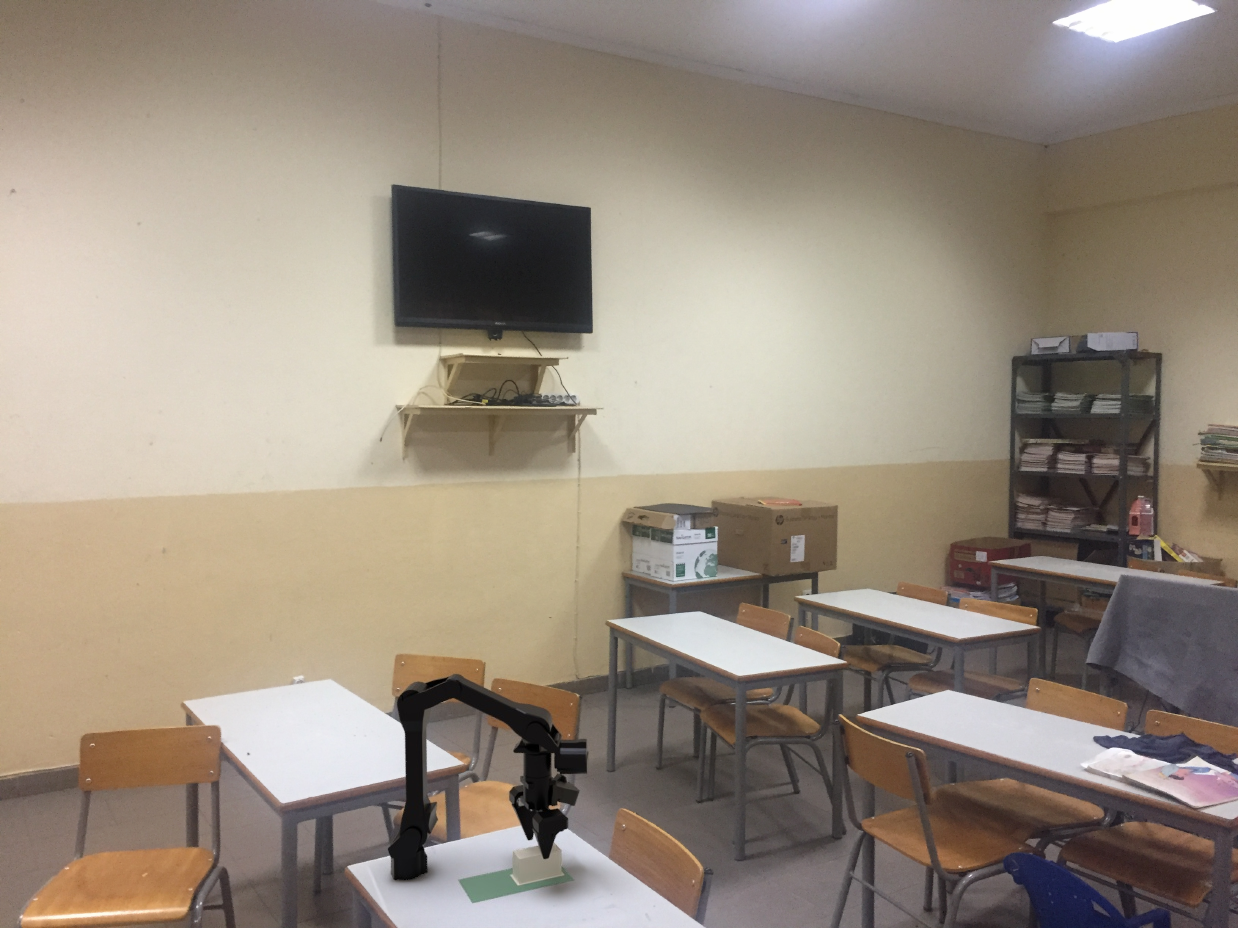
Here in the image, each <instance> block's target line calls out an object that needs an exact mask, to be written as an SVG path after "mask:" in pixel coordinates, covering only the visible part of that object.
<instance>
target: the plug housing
mask: <svg viewBox="0 0 1238 928" xmlns="http://www.w3.org/2000/svg"><path fill="white" fill-rule="evenodd" d="M561 865H562V849H561V848H560V847H559V845H557V843H555V842H554V843H553V846H552V850H551V853H550V856H549V858H548V859H543V857H542V854H541V851H540V849H539V846H538V845H534V846H529V847H526V848H521V849H520V848H519V849H515V850H512V868H513V876H514V878H515V879H516V880H517V882H518V883H519V884H522V883H526V882H531V881H535V880H539V879H544V878H548V877H553V876H557V875H562V871H561Z"/></svg>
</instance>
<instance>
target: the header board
mask: <svg viewBox="0 0 1238 928" xmlns="http://www.w3.org/2000/svg"><path fill="white" fill-rule="evenodd" d="M561 871H562V875H557V876H553V877H548V878H544V879H539V880H535V881H531V882H526V883H522V884H519V883H518V882H517V880H516V879H515V878H514V876H513V867H512V868H511V867H510V868H507V869H502V870H497V871H493V872H489V873H488V872H487V873H484V874H480V875H475V876H470V877H465V878H461V879H457V880H458V882H459V884H460V885H461V887H462V888H463V891H464V892H465V893H466V896H467V897H468V898H469V900H470V902H471V904H475V903H480V902H484V901H490V900H492V899H497V898H502V897H506V896H507V897H508V896H511V895H515V894H520V893H524V892H527V891H532V890H536V889H541V888H545V887H550V886H551V887H552V886H554V885H559V884H563V883H568V882H572V881H574V880H575V879H574V878H573V877H572V876H571V874H570V873H569V872H568V871H567V870H566V869H565V868H564V867H563V865H562V864H561Z"/></svg>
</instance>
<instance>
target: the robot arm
mask: <svg viewBox="0 0 1238 928" xmlns="http://www.w3.org/2000/svg"><path fill="white" fill-rule="evenodd" d="M452 699H454V700H456V701H458V702H460V703H462V704H464V705H466V706H469V707H471V708H473V709H475V710H477V711H480V712H481V713H484V714H486V715H488V716H490V717H492V718H493V719H496V720H498V721H500V722H502V723H503V724H505V725H506V726H508V727H509V729H511V731H513V733H514V734H516V735H517V736H519V737H520V741H518V743H516V744H515V746H514V748H513V753H514V754H522V755H523V756H522V759H523V760H522V761H523V765H522V766H523V767H522V769H523V771H522V772H523V773H522V774H523V775H520V776H519V777H520V778H519V782H521V784H520V785H513V786H512V787H511V789H510V790H509V791H508V798H509V799H508V801H510V804H511V807H512V808H513V810H514V813H515V815H516V817H517V820H518V822H519V824H520V826H521V829H522V831H523V833H524V836H525V837H526V840H527V841H533V840H534V837H535V839H536V842H537V846H539V849H540V851H541V854H542V857H543V859H548V858H549V856H550V853H551V850H552V846H553V843H555V839H556V838H557V836H558V834H559V833H560V832H564V831H565V830H567V829H569V817H568V816H567V815H566V814H565V813H564V812H563V811H562V810H560V809H559V808H558V807H557V806H559V805H558V803H561V804H566V805H570V806H572V807H576V804H577V800H578V797H579V794H580V789H578V787H577V786H575V784H573V783H571V782H570V781H567V780H568V779H567V776H566V775H588V774H589V764H590V763H589V761H590V758H589V756H590V755H589V753H590V751H589V749H588V748H589V747H588V739H587V738H578V739H562V738H563V735H562V734H561V732H560V731H559V729H558V728H557V727H556V725H555V724H554V722H553V717H552V713H551V712H550V711H549V710H548V709H547V708H545V707H541V706H538V705H534V704H530V703H522V702H516V701H514V700H511V699H509V698H507V697H506V696H503V695H501V694H499V693H497V692H495V691H493V690H490V689H488V688H486V687H485V686H482V685H480V684H478V683H476V682H474V681H472V680H470V679H467V678H465V677H464V676H463V675H462V674H460V673H453V674H450V675H448V676H445V677H441V678H436V679H432V680H430V681H426V682H423V681H413V682H412V683H409V685H408V686H407V687H406V688H405V689H404V690H403V692H401V693H400V695H399V696H398V698H397V701H396V708H397V712H398V718H399V722H400V724H401V727H402V729H403V731H404V732H403V733H404V749H405V750H404V756H405V757H404V759H405V762H404V764H405V767H404V768H405V802H404V808H403V811H402V812H403V813H402V815H401V819H400V824H399V825H400V827H399V829H398V831H397V833H396V835H395V836H394V838H393V840H392V841H391V842H390V844H389V846H388V847H387V851H388V854H389V857H390V875H391V877H392V878H393V880H394V881H398V880H399V881H411V880H412V881H413V880H415V879H417V878H419V877H421V876H423V875H425V874H427V873H428V854H427V852H426V851H425V847H424V844H426V843H427V842H428V841H427V840H428V839H429V837H430V835H431V834H432V832H433V831H434V828H435V826H436V825H437V822H438V821H439V818H438V816H437V808H438V802H437V801H433V802H431V800H430V798H429V795H428V759H427V758H428V756H427V755H428V753H427V751H428V749H427V748H428V747H427V746H428V745H427V744H428V743H427V739H428V738H427V728H428V722H429V718H430V714H431V711H432V708H433V707H435V706H437V705H440V704H442V703H444V702H447V701H448V700H452ZM553 754H554V755H553ZM552 755H553V756H554V758H553V759H554V760H553V761H554V762H553V763H552V757H553V756H552ZM553 765H554V770H556V772H557V773H556V775H554V777H553V773H552V770H553V769H552V768H553ZM555 806H556V807H557V808H552V809H551V808H550V807H555Z"/></svg>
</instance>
